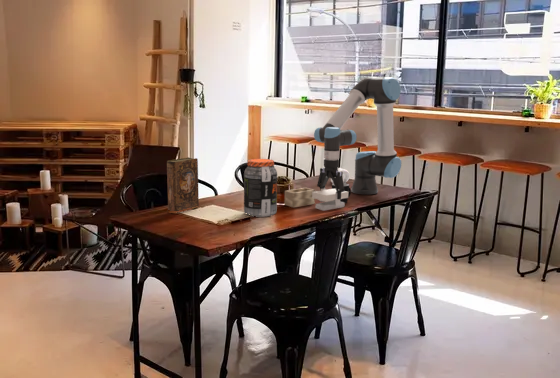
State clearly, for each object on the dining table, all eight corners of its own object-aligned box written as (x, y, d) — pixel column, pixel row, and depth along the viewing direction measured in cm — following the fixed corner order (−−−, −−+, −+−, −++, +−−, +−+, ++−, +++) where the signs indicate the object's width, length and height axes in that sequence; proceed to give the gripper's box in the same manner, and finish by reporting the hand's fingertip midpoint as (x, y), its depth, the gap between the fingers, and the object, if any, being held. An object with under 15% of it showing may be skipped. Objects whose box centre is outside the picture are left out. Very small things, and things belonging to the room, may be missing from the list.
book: (174, 214, 271) (173, 162, 266) (166, 212, 274) (164, 161, 269) (198, 208, 284) (197, 158, 279) (190, 206, 287) (189, 157, 282)
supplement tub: (279, 217, 268) (280, 162, 263) (245, 218, 265) (245, 163, 260) (274, 209, 283) (274, 157, 278) (242, 210, 281) (242, 157, 275)
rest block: (336, 205, 292) (336, 200, 291) (344, 208, 287) (344, 202, 287) (315, 209, 283) (315, 203, 283) (323, 212, 279) (323, 206, 278)
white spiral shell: (342, 186, 342) (343, 171, 341) (325, 183, 349) (325, 169, 347) (351, 183, 352) (351, 168, 350) (333, 180, 358) (334, 166, 356)
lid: (334, 196, 293) (334, 188, 292) (348, 199, 285) (348, 191, 284) (312, 199, 284) (312, 191, 283) (325, 203, 276) (325, 195, 275)
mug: (340, 206, 291) (340, 186, 289) (327, 203, 298) (328, 184, 296) (356, 203, 299) (357, 184, 297) (343, 200, 305) (344, 181, 303)
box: (305, 202, 298) (306, 187, 297) (314, 205, 293) (314, 189, 291) (284, 206, 290) (284, 190, 288) (293, 208, 284) (293, 193, 283)
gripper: (310, 156, 287) (309, 200, 291) (342, 162, 269) (340, 208, 274) (321, 155, 291) (320, 198, 296) (353, 161, 274) (351, 206, 278)
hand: (330, 203), depth 285 cm, fingers closed on lid, 10 cm apart
